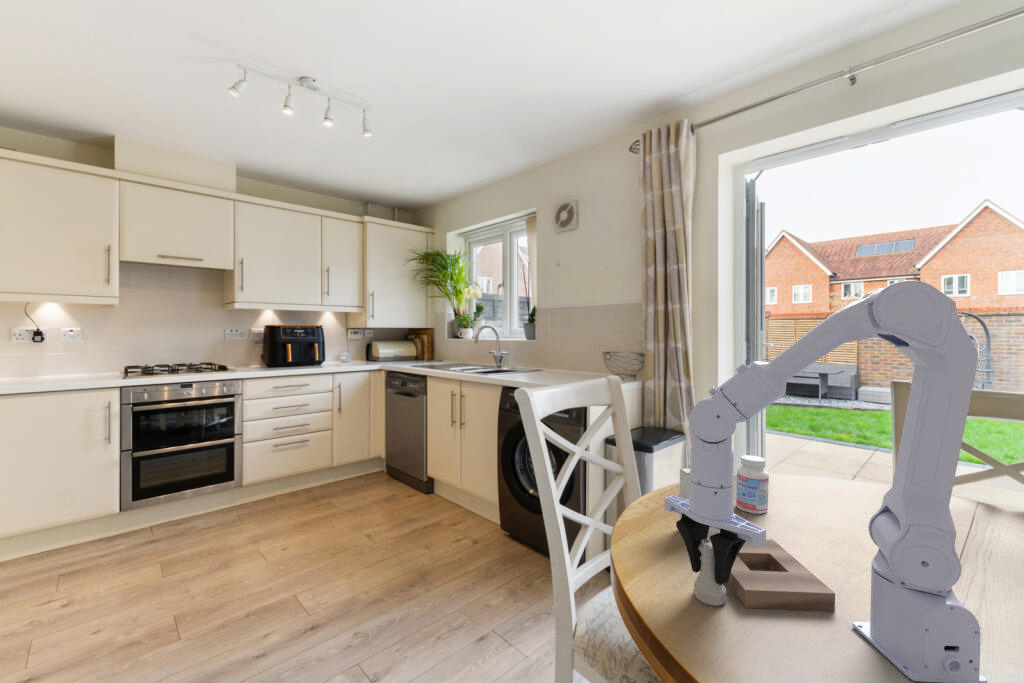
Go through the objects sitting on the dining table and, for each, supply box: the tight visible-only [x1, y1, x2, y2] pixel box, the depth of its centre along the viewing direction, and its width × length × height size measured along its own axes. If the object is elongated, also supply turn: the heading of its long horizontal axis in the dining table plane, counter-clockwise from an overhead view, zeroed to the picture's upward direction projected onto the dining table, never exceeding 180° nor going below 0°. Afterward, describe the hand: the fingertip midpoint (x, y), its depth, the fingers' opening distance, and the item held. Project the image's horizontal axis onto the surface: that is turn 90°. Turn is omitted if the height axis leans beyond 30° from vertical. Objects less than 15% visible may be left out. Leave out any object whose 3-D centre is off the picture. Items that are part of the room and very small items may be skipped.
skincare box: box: [679, 468, 720, 537], centre depth 84 cm, size 6×4×12 cm
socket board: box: [707, 537, 836, 612], centre depth 69 cm, size 16×12×2 cm
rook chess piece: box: [692, 539, 728, 607], centre depth 63 cm, size 4×4×8 cm
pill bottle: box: [735, 454, 770, 515], centre depth 96 cm, size 6×6×11 cm
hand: (710, 575), depth 63 cm, fingers closed on rook chess piece, 3 cm apart
